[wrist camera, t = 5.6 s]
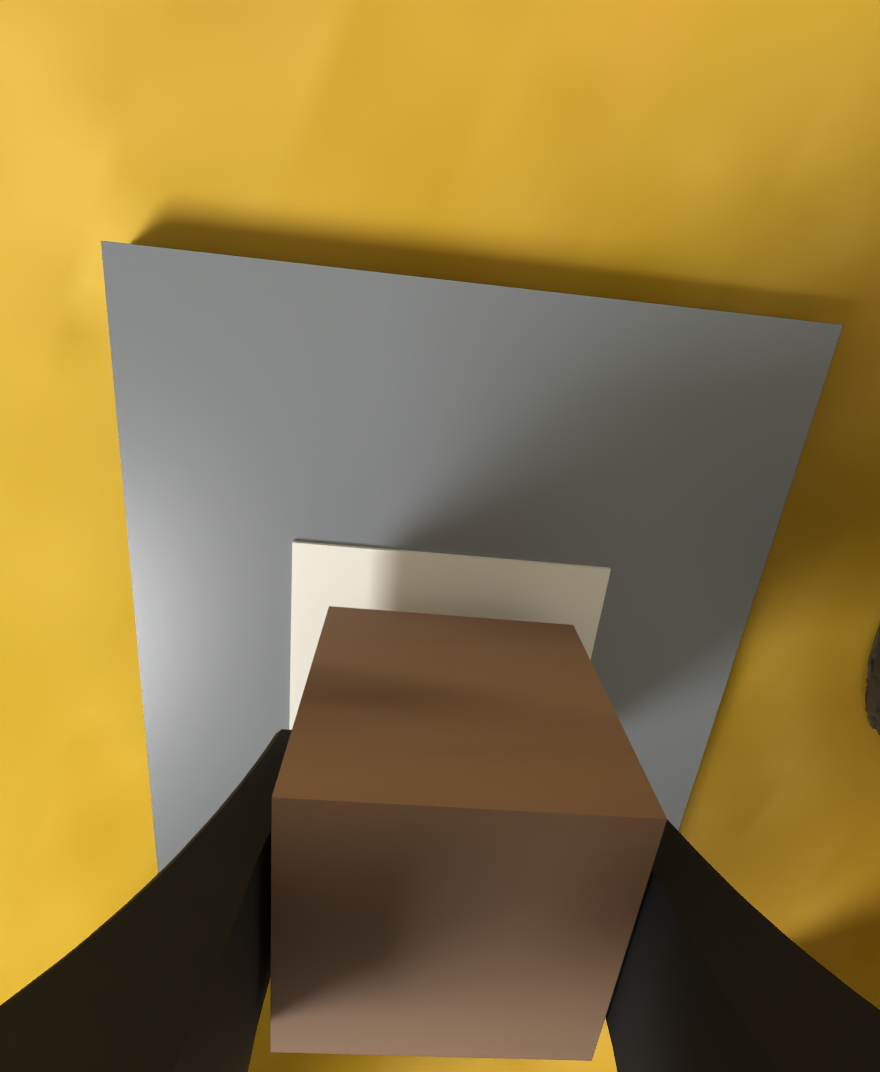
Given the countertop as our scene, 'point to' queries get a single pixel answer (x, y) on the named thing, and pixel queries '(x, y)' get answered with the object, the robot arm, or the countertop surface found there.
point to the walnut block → (453, 843)
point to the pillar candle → (874, 685)
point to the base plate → (436, 488)
